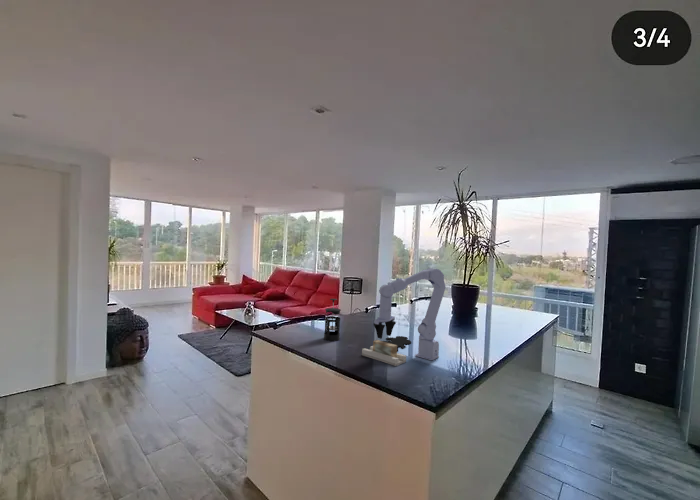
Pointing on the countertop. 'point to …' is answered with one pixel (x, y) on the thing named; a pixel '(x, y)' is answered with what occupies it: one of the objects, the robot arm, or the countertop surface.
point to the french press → (332, 334)
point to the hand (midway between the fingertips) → (384, 336)
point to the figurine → (399, 341)
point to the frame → (385, 348)
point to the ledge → (384, 357)
